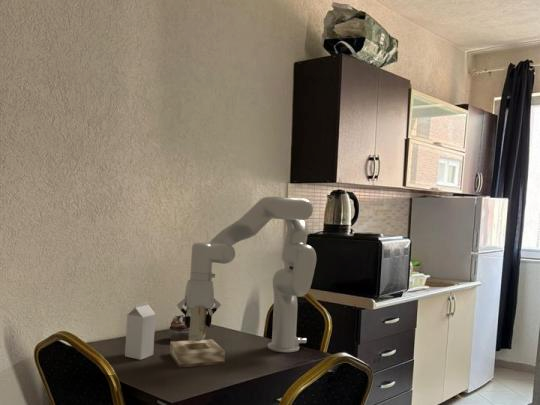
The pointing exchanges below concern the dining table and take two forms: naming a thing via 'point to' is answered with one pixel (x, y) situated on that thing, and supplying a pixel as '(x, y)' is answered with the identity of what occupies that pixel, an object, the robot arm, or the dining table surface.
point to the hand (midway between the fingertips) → (197, 326)
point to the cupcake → (179, 329)
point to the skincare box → (197, 323)
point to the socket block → (197, 353)
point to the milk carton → (140, 332)
